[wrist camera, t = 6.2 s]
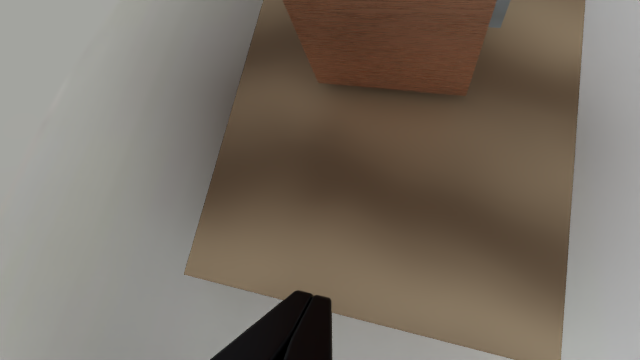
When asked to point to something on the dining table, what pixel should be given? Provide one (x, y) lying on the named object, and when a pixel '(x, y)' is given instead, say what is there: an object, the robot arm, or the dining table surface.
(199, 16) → the dining table surface
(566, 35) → the bearing base
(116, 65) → the dining table surface
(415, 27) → the shaft
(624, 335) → the dining table surface
